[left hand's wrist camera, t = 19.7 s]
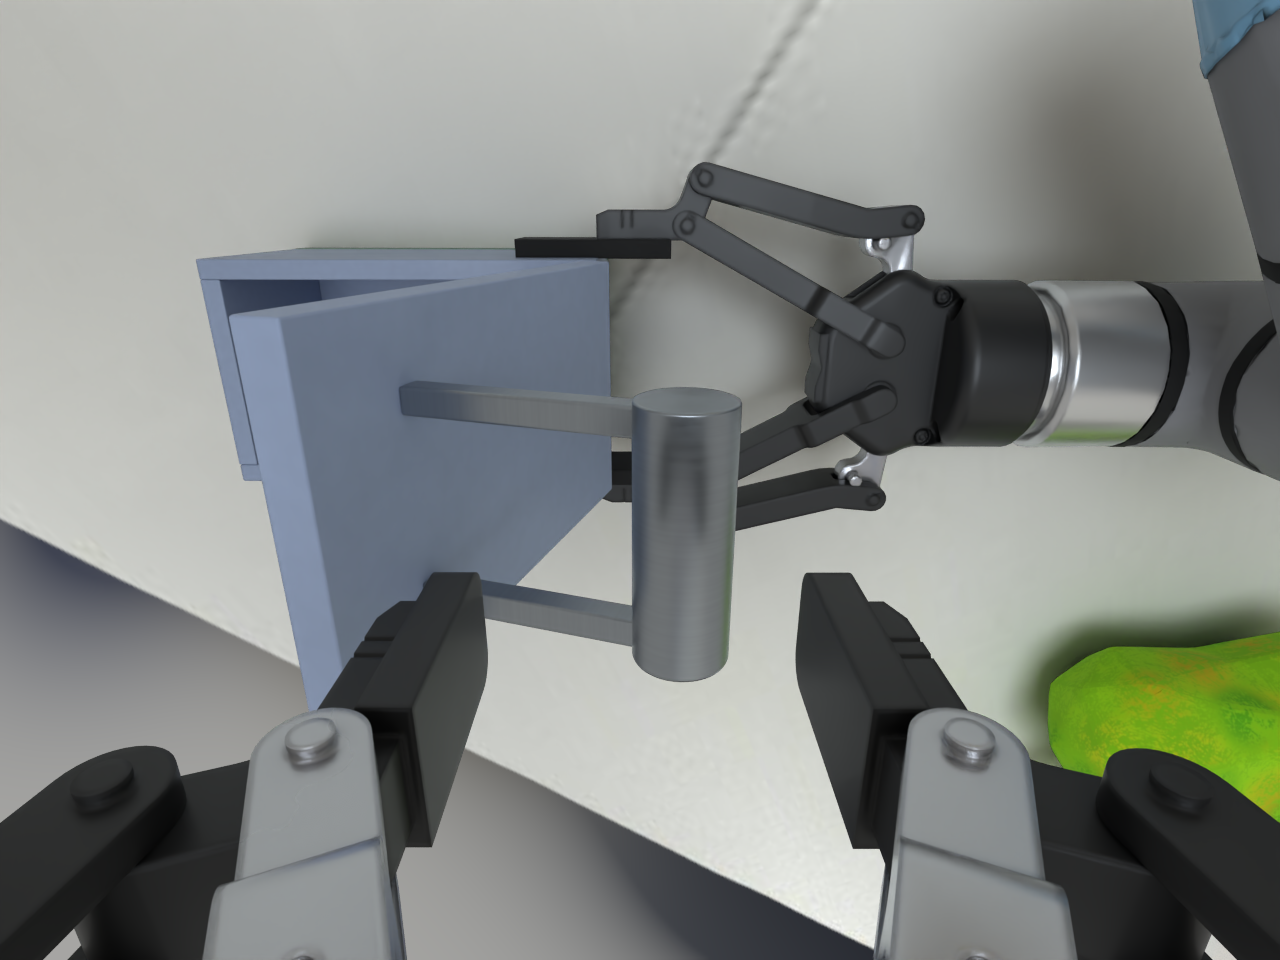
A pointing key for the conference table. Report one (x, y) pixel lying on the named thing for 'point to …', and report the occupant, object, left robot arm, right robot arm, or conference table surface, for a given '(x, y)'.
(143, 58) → the conference table surface
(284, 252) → the chest
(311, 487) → the lid
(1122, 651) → the decorative tree
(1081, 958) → the left robot arm
